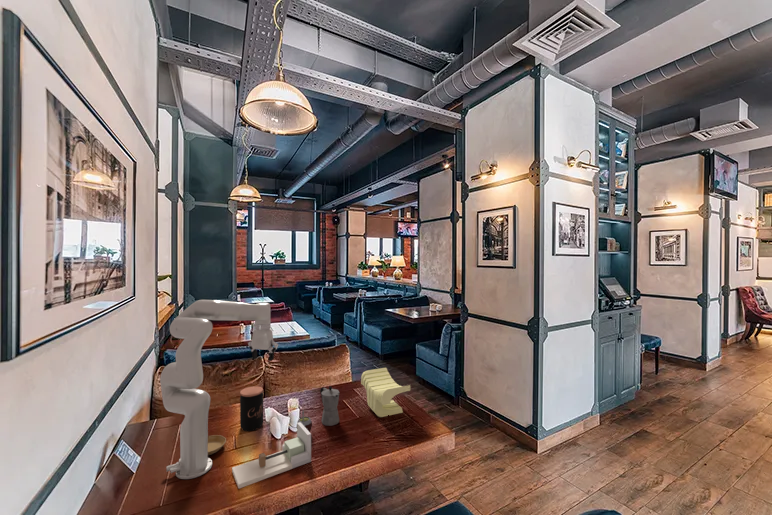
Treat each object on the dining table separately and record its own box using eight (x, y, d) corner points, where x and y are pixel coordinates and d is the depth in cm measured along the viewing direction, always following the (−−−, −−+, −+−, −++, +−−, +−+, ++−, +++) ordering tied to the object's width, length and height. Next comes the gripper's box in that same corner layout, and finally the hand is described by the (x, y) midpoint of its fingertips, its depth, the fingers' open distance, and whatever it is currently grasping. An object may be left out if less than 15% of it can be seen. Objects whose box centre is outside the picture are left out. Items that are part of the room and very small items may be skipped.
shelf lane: (238, 488, 123) (238, 457, 123) (232, 471, 133) (231, 442, 133) (311, 461, 139) (311, 433, 139) (300, 447, 149) (300, 422, 149)
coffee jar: (247, 434, 160) (247, 396, 160) (235, 427, 166) (235, 391, 166) (267, 425, 168) (267, 389, 168) (255, 419, 175) (255, 384, 175)
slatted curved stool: (361, 402, 195) (361, 371, 195) (386, 397, 202) (386, 367, 202) (382, 425, 168) (382, 390, 168) (410, 419, 174) (410, 385, 174)
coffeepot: (345, 422, 171) (345, 387, 171) (330, 429, 164) (330, 392, 164) (328, 412, 182) (328, 379, 182) (313, 418, 175) (313, 384, 175)
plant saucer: (183, 462, 138) (183, 455, 138) (193, 443, 152) (193, 437, 152) (222, 456, 142) (222, 450, 142) (228, 438, 156) (228, 433, 156)
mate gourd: (305, 430, 164) (305, 399, 163) (316, 436, 158) (316, 404, 158) (292, 436, 158) (292, 405, 158) (303, 442, 153) (303, 410, 153)
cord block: (262, 471, 130) (262, 458, 130) (257, 462, 136) (257, 450, 136) (304, 456, 140) (304, 444, 140) (298, 448, 145) (298, 436, 145)
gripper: (243, 327, 174) (244, 360, 174) (273, 329, 170) (273, 362, 170) (252, 324, 182) (252, 356, 182) (281, 326, 178) (281, 358, 178)
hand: (263, 359), depth 176 cm, fingers open, 9 cm apart
